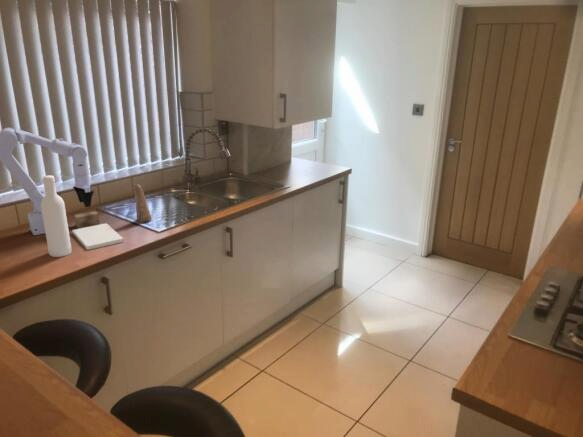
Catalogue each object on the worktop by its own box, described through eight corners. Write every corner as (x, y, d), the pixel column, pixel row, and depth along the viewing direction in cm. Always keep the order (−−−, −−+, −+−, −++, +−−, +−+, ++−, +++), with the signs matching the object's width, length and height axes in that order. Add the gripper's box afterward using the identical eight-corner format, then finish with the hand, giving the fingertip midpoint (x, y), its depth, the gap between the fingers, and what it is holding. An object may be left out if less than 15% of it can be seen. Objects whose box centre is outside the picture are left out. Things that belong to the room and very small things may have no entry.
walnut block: (78, 228, 203) (76, 217, 201) (75, 225, 206) (74, 214, 204) (99, 224, 208) (98, 213, 207) (96, 221, 211) (95, 211, 210)
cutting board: (87, 250, 182) (87, 246, 181) (72, 233, 197) (72, 230, 197) (123, 241, 190) (123, 238, 189) (106, 226, 205) (106, 223, 205)
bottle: (53, 248, 182) (41, 173, 172) (75, 248, 183) (63, 173, 172) (45, 257, 175) (31, 179, 164) (67, 257, 175) (55, 179, 165)
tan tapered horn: (138, 220, 216) (137, 225, 210) (128, 183, 209) (126, 187, 203) (152, 217, 217) (151, 222, 211) (142, 180, 209) (141, 184, 204)
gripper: (96, 176, 196) (100, 207, 201) (85, 169, 207) (89, 198, 212) (78, 178, 192) (82, 210, 197) (68, 171, 203) (73, 201, 207)
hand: (85, 204), depth 204 cm, fingers open, 7 cm apart
